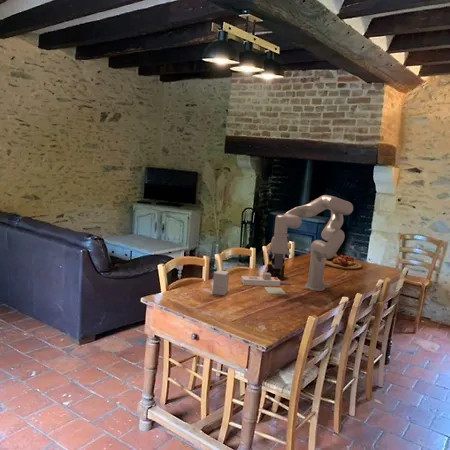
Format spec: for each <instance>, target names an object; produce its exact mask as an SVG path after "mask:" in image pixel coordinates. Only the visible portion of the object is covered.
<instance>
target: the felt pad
mask: <svg viewBox="0 0 450 450" xmlns="http://www.w3.org/2000/svg"><path fill="white" fill-rule="evenodd" d="M263 287H264V288H263V289H264V290H265V291H266V293H267V294H268V295H286V294H287V293H286V292H285V290H283V288H282V287H272V286H263Z"/></svg>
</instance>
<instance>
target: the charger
mask: <svg viewBox="0 0 450 450" xmlns="http://www.w3.org/2000/svg"><path fill="white" fill-rule="evenodd" d="M274 259H275V260H274V265H273V264H272V267H273V268H275V269H282V265H283V255H282V254H275V256H274Z"/></svg>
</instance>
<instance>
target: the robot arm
mask: <svg viewBox="0 0 450 450" xmlns="http://www.w3.org/2000/svg"><path fill="white" fill-rule="evenodd" d="M325 210H329V211H330V219H329V220H328V222H327V223H326V225H325V226H324V228H323V230H322V231H321V234H320V236H321V238H322V239H323V240H320V239H316V240H315V239H314V240H313V241H312V242H311V244H310V249H309V250H310V260H309V268H308V269H309V270H308V276H307V278H308V279H307V283H305V285H304V287H305V288H306V289H307V290H309V291H315V292H322V291H325V287H331V284H330V283H327V282H324V279H325V278H324V276H325V268H326V265H325V258H326V259H330V258H332V257H333V256H334V255H335V254H337V252H338V250H339V249H340V247H341V246H342V244H344V243H343V242H344V241H345V232H344V230H342V226H343V224H344V216H349V215H351V214H352V212H354V205H353V203H351V202H350V201H347V200H344V199H342V198H339V197H337V196H333V195H328V194H323V195H321V196H319V197H318V198H315V199H314V200H311V201H310V202H309V203H307V204H304V205H300V206H296V207H294V208H291V209H290V210H288V211H287V212H285V213H283V214H277V215H276V216H275V220H274V222H275V223H274V232H273V233H274V234H273V236H272V238H271V241H270V247H269V249H268V250H266V253H267V254H268V255H269V256H270V257H271V260H270V262H271V263H272V264H273V265H274V260H275V259H274V256H275V254H282V255H283V264H284V263H285V259H286V258H287V257H288V256H290V255H291V252H290V250H289V248H288V247H289V242H288V240H289V239H288V237H290V234H289V233H288V228H290V229H298V228H299V227H301V225H302V223H303V222H302V221H303V220H302V218H311V217H315V216H317V215H318V214H320V213H322V212H324V211H325Z"/></svg>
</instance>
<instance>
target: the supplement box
mask: <svg viewBox="0 0 450 450" xmlns="http://www.w3.org/2000/svg"><path fill="white" fill-rule="evenodd" d="M229 279H230V271H226V270H219V269H218V270H216V271H214V273H213V281H212V294H214V295H220V296H225V295H226V294H227V293H228V292H229V290H228V289H229Z"/></svg>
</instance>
